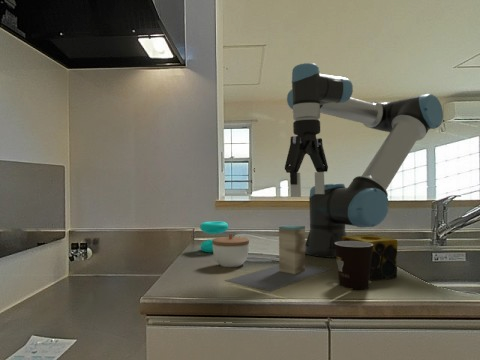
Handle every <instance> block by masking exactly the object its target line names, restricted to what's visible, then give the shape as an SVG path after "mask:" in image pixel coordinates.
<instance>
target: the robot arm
mask: <svg viewBox="0 0 480 360" xmlns="http://www.w3.org/2000/svg"><path fill="white" fill-rule="evenodd" d="M291 71H292V73H291V89H290V90H289V92H288V93H287V97H286V101H287V102H286V103H287V105H288V107H289V108H290V109H291V110H292V113H293V114H292V115H293V117H292V119H293V120H294V121H293V125H292V131H293V135H294V136H290V141H289V142H290V144H289V148H288V152H287V153H288V154H287V156H286V161H285V165H284V171H285V172H286V173H288V174H289V182H290V183H289V184H290V185H289V186H290V198H301V197H302V192H301V191H302V188H301V186H302V185H301V172H299V170H300V168H301V165H302V163H303V161H304V159H305V156H306V155H308V156H309V157H310V160H311V162H312V164H313V166H314V168H315V172H314V186H312V187H311V188H310V190H309V197H308V199H309V201H308V203H309V232H308V236H307V238H306V240H305V255H306V254H307V255H309V256H314V257H321V258H336V250H335V242H340V241H342V236H348V235H347V232H346V225H347V226H354V227H357V228H374V227H377V226H378V225H380V224H381V223H382V222H383V221H384V220H385V218H386V217H387V214H388V212H389V204H390V202H389V198H388V196H389V194H388V191H387V189H388V188H389V186H390V184H391V183H392V181H393V179H394V178H395V176H396V175H397V173H398V172H399V170H400V169H401V166H403V164H404V162H405V160H406V159H407V158H408V157H407V156H409V153H410V152H411V150H412V148H413V147H414V145H415V144H416V142H417V141H420V140H423V139H424V138H425V136H426V135H427V133H428V132H429V130H432V129H433V130H436V129H437V128H439V127H441V125H442V123H443V119H444V112H443V107H442V103H441V102H440V99H438V97H437V96H436V95H434V94H432V93H426V94H420V95H416V96H411V97H408V98H402V99H397V100H396V99H395V100H391V101H386V102H379V101H376V100H374V101H370V102H368V101H365V100H361V99H357V98H355V97H352V96H353V92H354V91H353V89H354V86H353V83H352V81H351V80H350V79H349V78H347V77H343V76H342V75H341V76H340V75H338V76H336V75H329V74H322V73H320V67H319V65H318V64H316V63H309V62H307V63H306V62H305V63H300V64H297V65H295V66H294V67H293V69H292V70H291ZM321 114H324V115H328V116H331V117H336V118H339V119H343V120H347V121H352V122H356V123H361V124H363V126H365V127H366V128H368V129H369V128H370V129H373V130H377V131H382V132H386V133H388V135H387V137H386V138H385V139H384V140H383V142H382V145H381V146H380V147H379V149H378V151H376V154H375V155H374V157H373V158H372V159H371V161H370V163H369V164H368V165H367V167H366V168H365V170H364V172H363V173H362V175H359V176H358V175H357V176H355V177H354V178H353V179H352V181H351V183H350V184H349V185H348V187H346V186H345V184H344V183H328V184H325V173H327V172H328V171H329V170H328V169H329V166H328V163H327V157H326V155H325V150H324V146H323V139H322V138H321V137H318V138H317V135H320V134H321V121H320V120H319V119H321Z"/></svg>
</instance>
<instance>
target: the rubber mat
mask: <svg viewBox="0 0 480 360" xmlns="http://www.w3.org/2000/svg"><path fill="white" fill-rule="evenodd" d="M331 270H332V268H331V267H330V268H329V267H321V266H317V265H311V264H306V263H305V271H302V272H300V273H297V274H292V273H287V272H281V271H279V264H277V265H275V266H270V267H266V268H264V269H260V270H256V271H253V272H249V273H246V274H242V275H239V276H235V277H232V278H229V279H225V280H224V281H225V282H229V283H233V284H238V285H243V286H245V287H250V288H254V289H259V290H263V291H267V292H273V291H275V290H278V289H280V288H283V287H284V288H285V287H286V286H288V285H289V286H290V285H292V284H294V283H297V282H300V281H303V280H306V279H309V278H311V277H313V276H316V275H319V274H322V273H325V272H327V271H331Z"/></svg>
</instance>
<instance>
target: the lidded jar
mask: <svg viewBox="0 0 480 360" xmlns="http://www.w3.org/2000/svg"><path fill="white" fill-rule="evenodd" d="M211 240H212V243H213V256H214V257H213V258H214V259H215V261H216V262H217V264H219V266H221V267H224V268H237V267H240V266H242V265H243V264H244V263H245V262H246V260H247V259H248V255H249V247H250V245H249V244H250V239H249V238H247V237H241V236H233V233H228V236H221V237H215V238H213V239H211Z"/></svg>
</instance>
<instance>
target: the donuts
mask: <svg viewBox="0 0 480 360" xmlns="http://www.w3.org/2000/svg"><path fill="white" fill-rule="evenodd" d="M199 227H200V231H202V232H203V233H205V234H210V235H211V234H216V235H217V234H222V233H225V232H226V231H227V230H229V224H228V223H227V222H226V221H220V220H219V221H217V220H216V221H214V220H212V221H204V222H201V224H200V226H199ZM212 240H213V239H207V240H204V241H202V242H201V244H200V246H199V249H200V250H201V251H202V252H204V253H213V243H212Z"/></svg>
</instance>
